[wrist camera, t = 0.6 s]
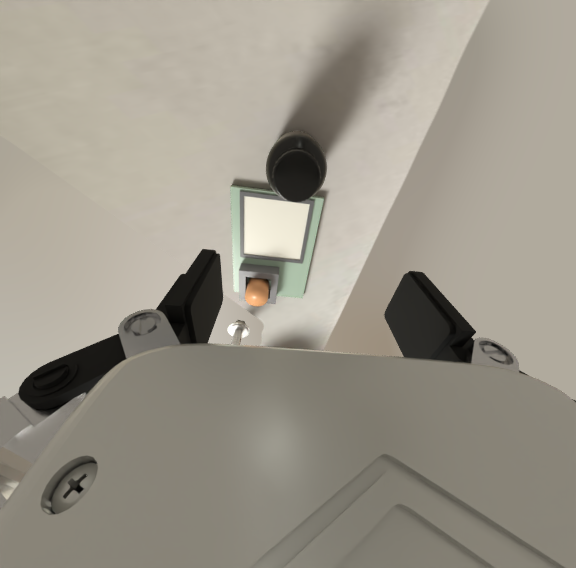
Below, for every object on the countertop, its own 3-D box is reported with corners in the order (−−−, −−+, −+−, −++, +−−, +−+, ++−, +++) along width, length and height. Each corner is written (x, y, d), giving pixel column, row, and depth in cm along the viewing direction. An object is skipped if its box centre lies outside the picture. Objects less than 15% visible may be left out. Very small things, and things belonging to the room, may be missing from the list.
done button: (248, 274, 40) (244, 287, 37) (270, 276, 41) (268, 290, 37) (248, 291, 43) (244, 305, 39) (268, 293, 43) (267, 307, 40)
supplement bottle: (305, 117, 28) (313, 118, 19) (327, 168, 32) (344, 190, 22) (261, 149, 30) (248, 164, 21) (286, 194, 34) (285, 224, 24)
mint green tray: (231, 185, 33) (226, 191, 30) (323, 196, 34) (326, 203, 31) (234, 288, 45) (231, 299, 42) (302, 295, 46) (303, 306, 43)
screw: (254, 324, 52) (241, 333, 54) (239, 313, 49) (225, 323, 51) (246, 376, 41) (230, 385, 43) (225, 365, 39) (209, 375, 41)
